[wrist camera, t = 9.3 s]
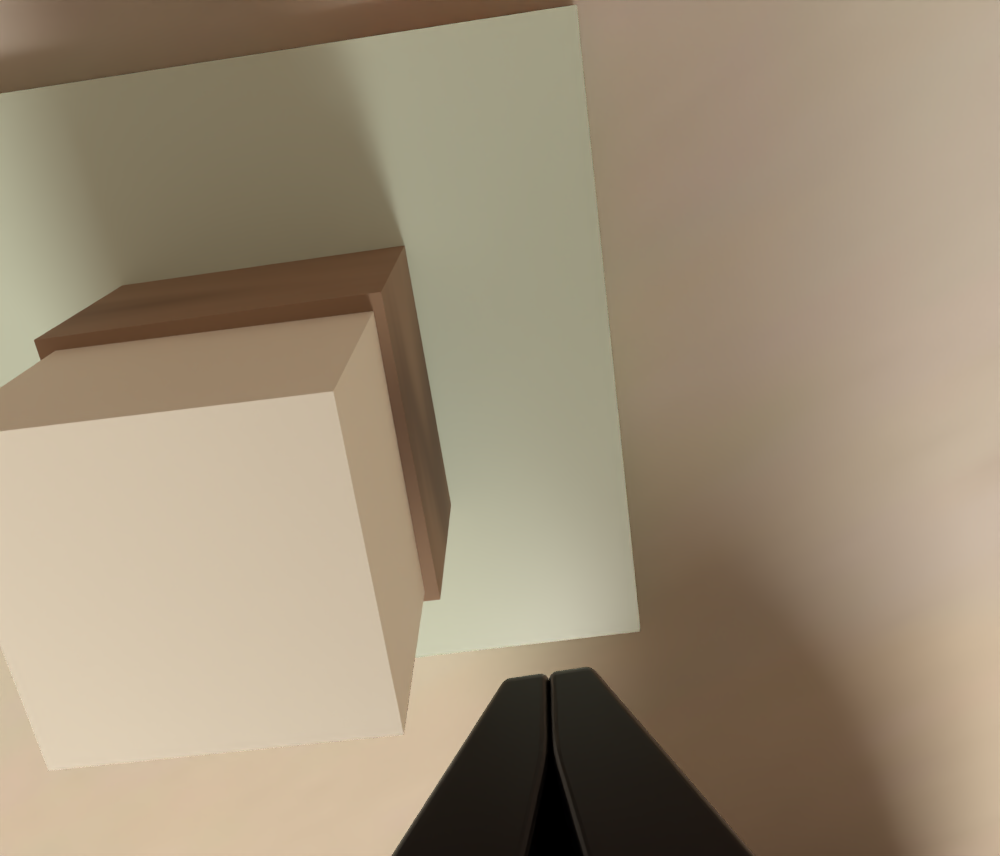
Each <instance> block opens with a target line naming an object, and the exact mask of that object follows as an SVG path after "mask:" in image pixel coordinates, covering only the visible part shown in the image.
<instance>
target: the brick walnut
mask: <svg viewBox="0 0 1000 856" xmlns="http://www.w3.org/2000/svg"><path fill="white" fill-rule="evenodd" d="M370 311H373V312H374V317H375V323H376V328H377V334H378V339H379V345H380V350H381V356H382V361H383V367H384V372H385V378H386V383H387V389H388V394H389V400H390V405H391V411H392V416H393V422H394V427H395V433H396V438H397V444H398V449H399V455H400V460H401V466H402V471H403V477H404V482H405V488H406V493H407V498H408V504H409V509H410V515H411V520H412V526H413V531H414V537H415V542H416V548H417V553H418V559H419V564H420V570H421V575H422V581H423V586H424V592H425V593H424V600H423V602H424V601H432V600H440V597H441V589H442V580H443V571H444V563H445V554H446V545H447V537H448V528H449V519H450V511H451V501H450V496H449V490H448V485H447V479H446V473H445V468H444V462H443V457H442V451H441V446H440V440H439V434H438V429H437V423H436V418H435V412H434V406H433V401H432V395H431V390H430V384H429V379H428V373H427V367H426V362H425V356H424V351H423V345H422V339H421V334H420V328H419V323H418V317H417V312H416V306H415V300H414V295H413V289H412V284H411V278H410V272H409V267H408V261H407V256H406V250H405V245H404V246H397V247H390V248H383V249H376V250H369V251H362V252H355V253H348V254H341V255H334V256H327V257H320V258H312V259H305V260H298V261H291V262H284V263H277V264H270V265H263V266H256V267H249V268H242V269H235V270H228V271H221V272H214V273H207V274H200V275H193V276H185V277H178V278H171V279H164V280H157V281H150V282H143V283H136V284H129V285H122V286H120V287H119V288H117V289H116V290H114V291H112V292H111V293H109V294H108V295H106V296H104V297H103V298H101V299H99V300H98V301H96V302H95V303H93V304H91V305H90V306H88V307H87V308H85V309H83V310H82V311H80V312H78V313H77V314H75V315H74V316H72V317H70V318H69V319H67V320H66V321H64V322H62V323H61V324H59V325H57V326H56V327H54V328H53V329H51V330H49V331H48V332H46V333H45V334H43V335H41V336H40V337H38V338H36V339H35V340H34V342H35V345H36V348H37V351H38V354H39V357H40V360H42V359H44V358H45V357H47V356H48V355H50V354H51V353H53V352H54V351H56V350H64V349H72V348H80V347H88V346H96V345H104V344H112V343H120V342H128V341H136V340H145V339H153V338H161V337H169V336H177V335H185V334H193V333H201V332H209V331H217V330H225V329H233V328H241V327H249V326H257V325H265V324H273V323H281V322H289V321H297V320H305V319H313V318H322V317H330V316H338V315H346V314H354V313H362V312H370Z"/></svg>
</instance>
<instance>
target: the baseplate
mask: <svg viewBox="0 0 1000 856" xmlns="http://www.w3.org/2000/svg"><path fill="white" fill-rule="evenodd" d="M404 245H405V250H406V256H407V261H408V267H409V272H410V278H411V284H412V289H413V295H414V300H415V306H416V312H417V317H418V323H419V328H420V334H421V339H422V345H423V351H424V356H425V362H426V367H427V373H428V379H429V384H430V390H431V395H432V401H433V406H434V412H435V418H436V423H437V429H438V434H439V440H440V446H441V451H442V457H443V462H444V468H445V473H446V479H447V485H448V490H449V496H450V501H451V511H450V519H449V528H448V537H447V545H446V554H445V563H444V571H443V580H442V589H441V597H440V600H432V601H424V602H423V607H422V614H421V620H420V627H419V634H418V641H417V648H416V655H415V658H418V657H426V656H435V655H443V654H452V653H460V652H469V651H477V650H486V649H494V648H503V647H512V646H520V645H529V644H537V643H546V642H554V641H563V640H571V639H580V638H589V637H597V636H606V635H614V634H623V633H631V632H640V621H639V611H638V601H637V591H636V582H635V572H634V562H633V552H632V542H631V532H630V523H629V513H628V503H627V493H626V483H625V473H624V464H623V454H622V444H621V434H620V424H619V415H618V405H617V395H616V385H615V375H614V365H613V356H612V346H611V336H610V326H609V316H608V306H607V297H606V287H605V277H604V267H603V257H602V247H601V238H600V228H599V218H598V208H597V198H596V188H595V179H594V169H593V159H592V149H591V139H590V130H589V120H588V110H587V100H586V90H585V80H584V71H583V61H582V51H581V41H580V31H579V21H578V12H577V5H570V6H564V7H557V8H551V9H544V10H538V11H531V12H525V13H519V14H512V15H506V16H499V17H493V18H486V19H480V20H473V21H467V22H460V23H454V24H447V25H441V26H434V27H428V28H421V29H415V30H409V31H402V32H396V33H389V34H383V35H376V36H370V37H363V38H357V39H350V40H344V41H337V42H331V43H324V44H318V45H311V46H305V47H299V48H292V49H286V50H279V51H273V52H266V53H260V54H253V55H247V56H240V57H234V58H227V59H221V60H214V61H208V62H202V63H195V64H189V65H182V66H176V67H169V68H163V69H156V70H150V71H143V72H137V73H130V74H124V75H117V76H111V77H104V78H98V79H92V80H85V81H79V82H72V83H66V84H59V85H53V86H46V87H40V88H33V89H27V90H20V91H14V92H7V93H1V94H0V388H1V387H2V386H4V385H5V384H6V383H8V382H9V381H11V380H12V379H14V378H15V377H17V376H18V375H20V374H21V373H23V372H24V371H26V370H27V369H29V368H30V367H32V366H33V365H35V364H36V363H38V362H39V361H41V360H40V357H39V354H38V351H37V348H36V345H35V342H34V340H35V339H36V338H38V337H40V336H41V335H43V334H45V333H46V332H48V331H49V330H51V329H53V328H54V327H56V326H57V325H59V324H61V323H62V322H64V321H66V320H67V319H69V318H70V317H72V316H74V315H75V314H77V313H78V312H80V311H82V310H83V309H85V308H87V307H88V306H90V305H91V304H93V303H95V302H96V301H98V300H99V299H101V298H103V297H104V296H106V295H108V294H109V293H111V292H112V291H114V290H116V289H117V288H119V287H120V286H122V285H129V284H136V283H143V282H150V281H157V280H164V279H171V278H178V277H185V276H193V275H200V274H207V273H214V272H221V271H228V270H235V269H242V268H249V267H256V266H263V265H270V264H277V263H284V262H291V261H298V260H305V259H312V258H320V257H327V256H334V255H341V254H348V253H355V252H362V251H369V250H376V249H383V248H390V247H397V246H404Z"/></svg>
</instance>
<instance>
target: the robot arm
mask: <svg viewBox="0 0 1000 856" xmlns="http://www.w3.org/2000/svg"><path fill="white" fill-rule="evenodd" d="M392 856H755V855H754V854H753V853H752V851H751V850H750V849H749V848H748V847H747V846H746V845H745V843H744V842H743V841H742V840H741V839H740V838H739V836H738V835H737V834H736V833H735V832H734V831H733V829H732V828H731V827H730V826H729V825H728V824H727V823H726V821H725V820H724V819H723V818H722V817H721V816H720V814H719V813H718V812H717V811H716V810H715V809H714V808H713V806H712V805H711V804H710V803H709V802H708V801H707V799H706V798H705V797H704V796H703V795H702V794H701V793H700V791H699V790H698V789H697V788H696V787H695V786H694V784H693V783H692V782H691V781H690V780H689V779H688V778H687V776H686V775H685V774H684V773H683V772H682V771H681V769H680V768H679V767H678V766H677V765H676V764H675V762H674V761H673V760H672V759H671V758H670V757H669V756H668V754H667V753H666V752H665V751H664V750H663V749H662V747H661V746H660V745H659V744H658V743H657V742H656V741H655V739H654V738H653V737H652V736H651V735H650V734H649V732H648V731H647V730H646V729H645V728H644V727H643V726H642V724H641V723H640V722H639V721H638V720H637V719H636V717H635V716H634V715H633V714H632V713H631V712H630V711H629V709H628V708H627V707H626V706H625V705H624V704H623V702H622V701H621V700H620V699H619V698H618V697H617V695H616V694H615V693H614V692H613V691H612V690H611V689H610V687H609V686H608V685H607V684H606V683H605V682H604V680H603V679H602V678H601V677H600V676H599V675H598V674H597V672H596V671H595V670H593V669H592V668H590V667H584V668H577V669H570V670H563V671H556V672H554V673H553V674H551V676H550V678H549V679H548V677H547V676H546V675H544V674H536V675H529V676H522V677H515V678H509V679H507V680H505V681H504V682H503V683H502V684H501V686H500V687H499V689H498V691H497V692H496V694H495V695H494V697H493V698H492V700H491V702H490V703H489V705H488V706H487V708H486V709H485V711H484V712H483V714H482V716H481V717H480V719H479V720H478V722H477V723H476V725H475V726H474V728H473V730H472V731H471V733H470V734H469V736H468V737H467V739H466V740H465V742H464V744H463V745H462V747H461V748H460V750H459V751H458V753H457V755H456V756H455V758H454V759H453V761H452V762H451V764H450V765H449V767H448V769H447V770H446V772H445V773H444V775H443V776H442V778H441V779H440V781H439V783H438V784H437V786H436V787H435V789H434V790H433V792H432V793H431V795H430V797H429V798H428V800H427V801H426V803H425V804H424V806H423V808H422V809H421V811H420V812H419V814H418V815H417V817H416V818H415V820H414V822H413V823H412V825H411V826H410V828H409V829H408V831H407V832H406V834H405V836H404V837H403V839H402V840H401V842H400V843H399V845H398V846H397V848H396V850H395V851H394V853H393V854H392Z"/></svg>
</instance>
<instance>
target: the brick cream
mask: <svg viewBox="0 0 1000 856" xmlns="http://www.w3.org/2000/svg"><path fill="white" fill-rule="evenodd" d="M424 593H425V592H424V586H423V581H422V575H421V570H420V564H419V559H418V553H417V548H416V542H415V537H414V531H413V526H412V520H411V515H410V509H409V504H408V498H407V493H406V488H405V482H404V477H403V471H402V466H401V460H400V455H399V449H398V444H397V438H396V433H395V427H394V422H393V416H392V411H391V405H390V400H389V394H388V389H387V383H386V378H385V372H384V367H383V361H382V356H381V350H380V345H379V339H378V334H377V328H376V323H375V317H374V312H373V311H370V312H362V313H354V314H346V315H338V316H330V317H322V318H313V319H305V320H297V321H289V322H281V323H273V324H265V325H257V326H249V327H241V328H233V329H225V330H217V331H209V332H201V333H193V334H185V335H177V336H169V337H161V338H153V339H145V340H136V341H128V342H120V343H112V344H104V345H96V346H88V347H80V348H72V349H64V350H56V351H54V352H53V353H51V354H50V355H48V356H47V357H45V358H44V359H42V360H41V361H39V362H38V363H36V364H35V365H33V366H32V367H30V368H29V369H27V370H26V371H24V372H23V373H21V374H20V375H18V376H17V377H15V378H14V379H12V380H11V381H9V382H8V383H6V384H5V385H4V386H2V387H1V388H0V647H1V649H2V652H3V655H4V657H5V660H6V662H7V665H8V668H9V670H10V673H11V675H12V678H13V681H14V683H15V686H16V688H17V691H18V694H19V696H20V699H21V701H22V704H23V707H24V709H25V712H26V714H27V717H28V720H29V722H30V725H31V727H32V730H33V733H34V735H35V738H36V740H37V743H38V746H39V748H40V751H41V753H42V756H43V759H44V761H45V764H46V766H47V769H48V771H52V770H62V769H72V768H81V767H91V766H101V765H111V764H121V763H131V762H141V761H151V760H161V759H171V758H180V757H190V756H200V755H210V754H220V753H230V752H240V751H250V750H260V749H269V748H279V747H289V746H299V745H309V744H319V743H329V742H339V741H349V740H358V739H368V738H378V737H388V736H398V735H404V730H405V723H406V716H407V710H408V703H409V696H410V689H411V682H412V675H413V668H414V662H415V655H416V648H417V641H418V634H419V627H420V620H421V614H422V607H423V600H424Z"/></svg>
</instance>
